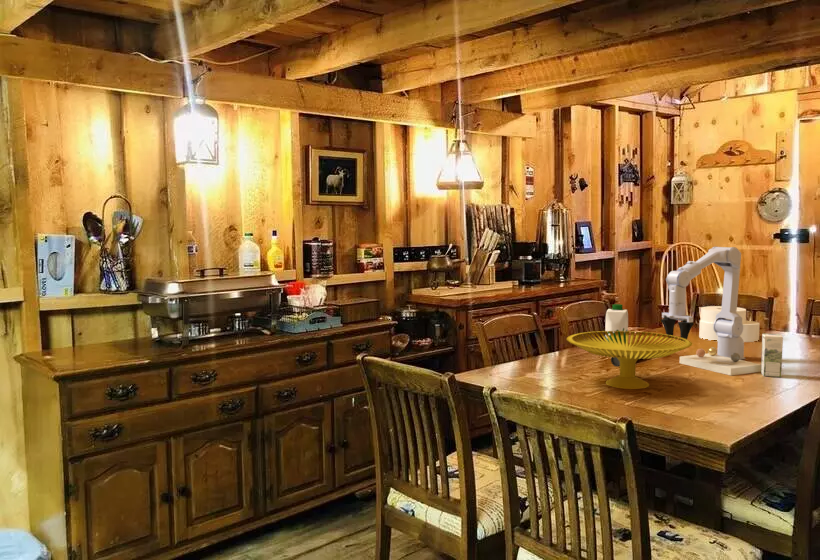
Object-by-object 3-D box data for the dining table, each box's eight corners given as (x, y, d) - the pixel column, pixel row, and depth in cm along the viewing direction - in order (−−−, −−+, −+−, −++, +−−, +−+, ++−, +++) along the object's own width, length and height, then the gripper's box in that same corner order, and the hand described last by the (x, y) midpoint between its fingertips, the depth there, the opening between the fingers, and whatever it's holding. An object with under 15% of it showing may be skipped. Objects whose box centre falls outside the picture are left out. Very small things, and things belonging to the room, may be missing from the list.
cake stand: (678, 405, 207) (679, 355, 206) (548, 389, 228) (548, 344, 227) (702, 378, 241) (703, 335, 240) (587, 367, 262) (587, 327, 261)
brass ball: (712, 354, 270) (712, 346, 270) (718, 355, 267) (719, 347, 267) (706, 355, 269) (706, 347, 269) (712, 356, 266) (712, 348, 266)
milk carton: (628, 352, 290) (629, 304, 288) (626, 356, 282) (627, 307, 280) (606, 351, 293) (607, 303, 292) (604, 354, 285) (604, 306, 283)
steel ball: (734, 360, 259) (735, 351, 258) (742, 361, 256) (742, 353, 255) (728, 361, 257) (728, 352, 257) (735, 362, 254) (735, 354, 254)
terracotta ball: (700, 355, 268) (700, 347, 268) (707, 357, 265) (707, 349, 265) (694, 356, 267) (694, 348, 266) (700, 358, 264) (700, 349, 263)
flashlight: (610, 366, 264) (610, 353, 264) (636, 358, 279) (636, 345, 279) (622, 368, 261) (622, 354, 261) (648, 359, 276) (648, 347, 275)
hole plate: (708, 359, 273) (709, 353, 273) (761, 371, 251) (761, 364, 251) (679, 363, 267) (679, 356, 267) (730, 375, 245) (730, 368, 245)
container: (756, 344, 305) (757, 313, 304) (695, 339, 318) (696, 309, 317) (761, 337, 322) (762, 308, 321) (703, 333, 335) (703, 305, 334)
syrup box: (778, 374, 246) (780, 333, 245) (781, 377, 241) (783, 336, 240) (760, 373, 248) (762, 332, 247) (763, 376, 243) (764, 335, 241)
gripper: (655, 301, 266) (655, 336, 267) (682, 305, 253) (681, 342, 254) (670, 300, 269) (670, 335, 270) (698, 304, 255) (697, 341, 256)
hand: (676, 339), depth 262 cm, fingers open, 7 cm apart
